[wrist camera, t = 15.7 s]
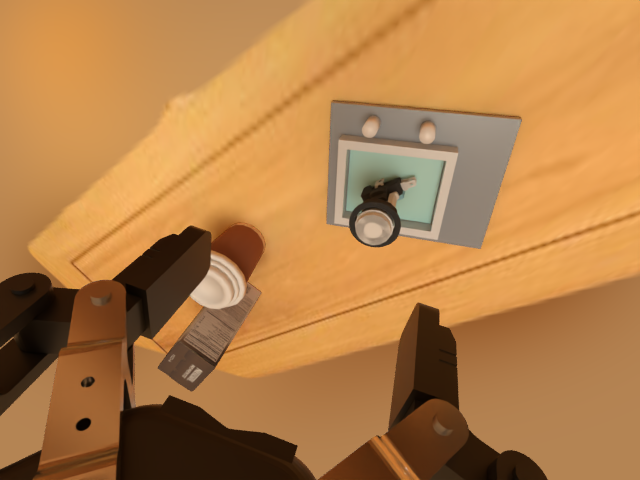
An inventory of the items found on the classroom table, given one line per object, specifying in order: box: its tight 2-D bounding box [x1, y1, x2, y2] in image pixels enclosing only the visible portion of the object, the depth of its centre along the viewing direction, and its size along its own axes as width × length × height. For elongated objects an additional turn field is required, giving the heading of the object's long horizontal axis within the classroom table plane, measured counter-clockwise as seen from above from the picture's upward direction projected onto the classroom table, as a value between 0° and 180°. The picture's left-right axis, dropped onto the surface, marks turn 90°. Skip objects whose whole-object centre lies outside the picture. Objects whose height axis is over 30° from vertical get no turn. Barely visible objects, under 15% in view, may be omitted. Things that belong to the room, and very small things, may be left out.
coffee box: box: [158, 282, 261, 391], centre depth 58 cm, size 9×6×16 cm
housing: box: [327, 101, 522, 249], centre depth 43 cm, size 16×20×4 cm
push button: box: [349, 177, 417, 247], centre depth 41 cm, size 7×5×10 cm
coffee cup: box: [190, 223, 265, 309], centre depth 52 cm, size 9×9×12 cm
